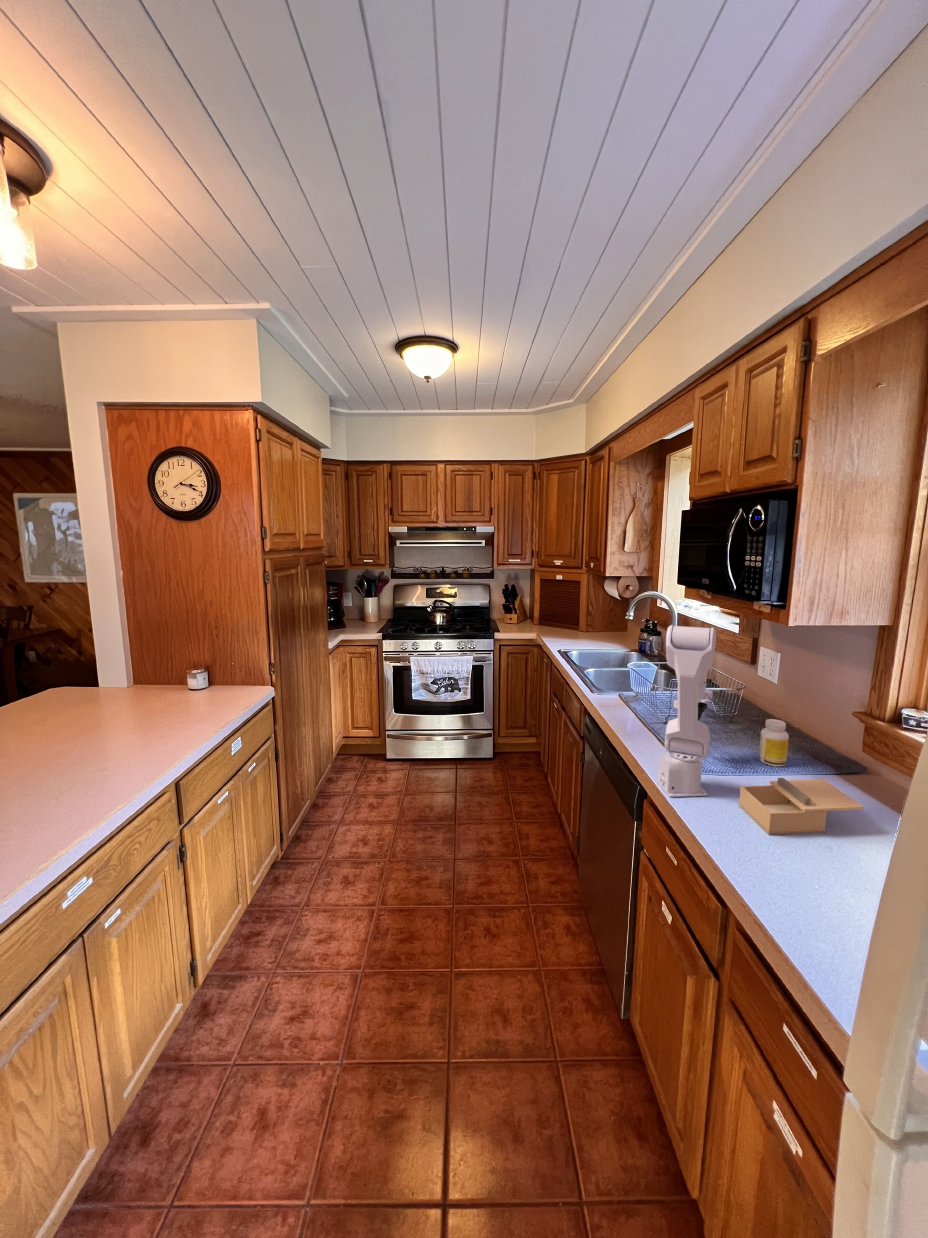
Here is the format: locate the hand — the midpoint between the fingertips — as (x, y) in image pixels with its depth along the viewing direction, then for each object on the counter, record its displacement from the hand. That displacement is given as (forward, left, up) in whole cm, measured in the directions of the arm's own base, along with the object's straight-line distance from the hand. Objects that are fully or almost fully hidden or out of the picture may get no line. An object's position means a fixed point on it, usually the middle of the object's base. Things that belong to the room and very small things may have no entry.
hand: (691, 727), depth 136 cm
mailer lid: (+14, -28, -5) cm, 32 cm away
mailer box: (+7, -28, -10) cm, 31 cm away
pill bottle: (+22, -2, -10) cm, 24 cm away
